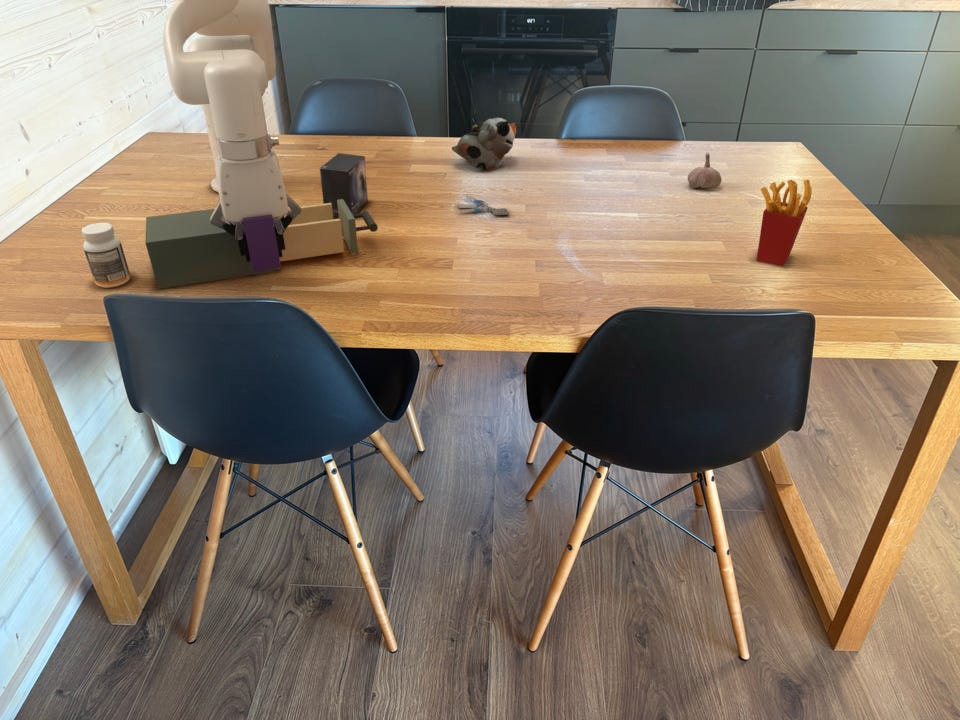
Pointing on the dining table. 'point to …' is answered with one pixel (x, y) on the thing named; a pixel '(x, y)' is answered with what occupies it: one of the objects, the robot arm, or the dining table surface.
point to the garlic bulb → (704, 176)
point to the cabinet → (193, 250)
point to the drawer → (323, 231)
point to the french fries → (781, 222)
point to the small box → (344, 182)
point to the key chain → (495, 211)
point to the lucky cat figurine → (487, 143)
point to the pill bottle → (105, 255)
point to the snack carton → (262, 242)
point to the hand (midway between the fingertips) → (263, 255)
